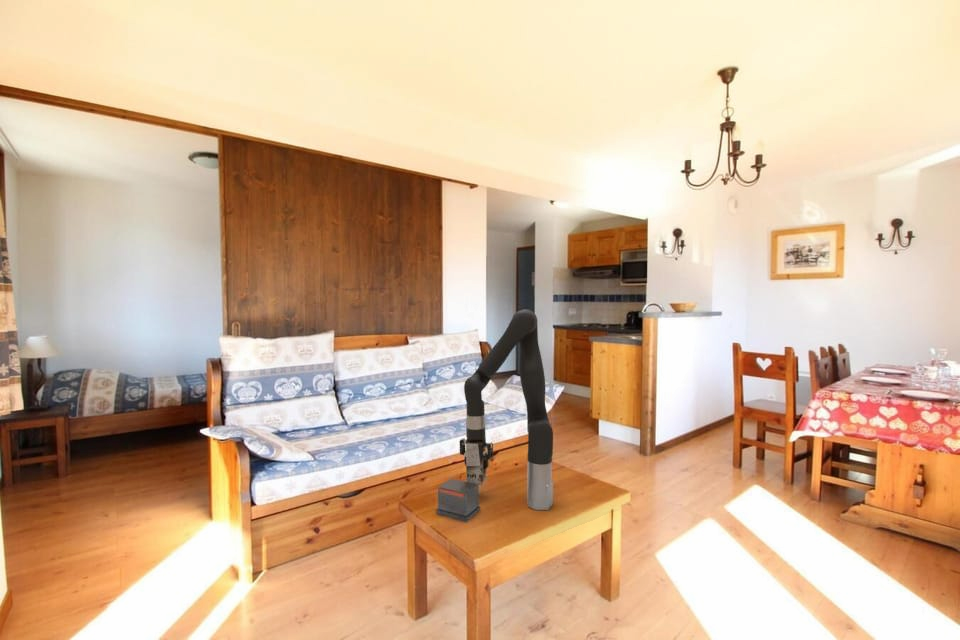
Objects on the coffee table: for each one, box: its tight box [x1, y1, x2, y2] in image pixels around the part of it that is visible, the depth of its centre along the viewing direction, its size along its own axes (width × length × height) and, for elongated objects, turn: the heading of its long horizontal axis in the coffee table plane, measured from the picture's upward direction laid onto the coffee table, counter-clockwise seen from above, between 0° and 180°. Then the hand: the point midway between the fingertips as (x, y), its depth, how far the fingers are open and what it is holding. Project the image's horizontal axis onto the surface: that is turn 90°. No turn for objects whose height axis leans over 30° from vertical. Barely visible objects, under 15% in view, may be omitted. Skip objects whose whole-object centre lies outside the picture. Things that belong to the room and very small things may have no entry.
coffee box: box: [465, 436, 487, 486], centre depth 177 cm, size 9×6×16 cm
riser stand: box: [435, 477, 481, 523], centre depth 166 cm, size 13×10×10 cm
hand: (476, 467), depth 177 cm, fingers closed on coffee box, 7 cm apart
